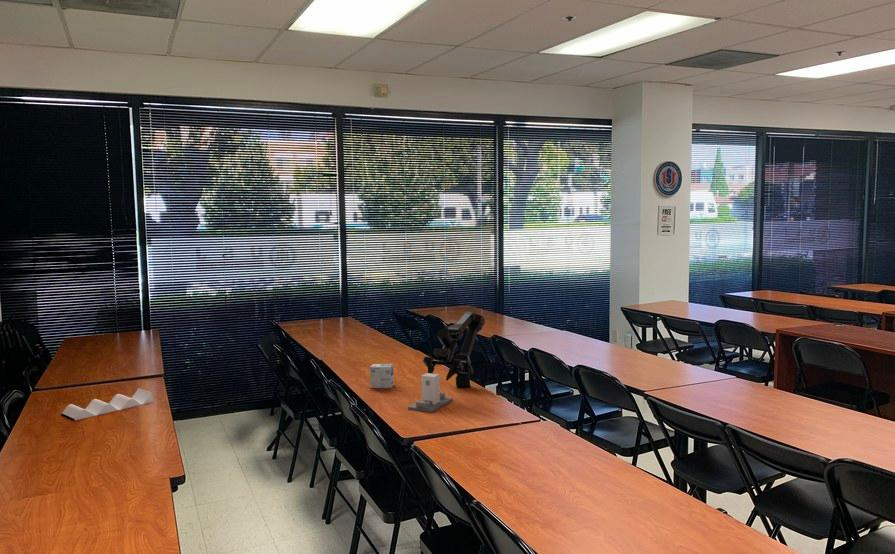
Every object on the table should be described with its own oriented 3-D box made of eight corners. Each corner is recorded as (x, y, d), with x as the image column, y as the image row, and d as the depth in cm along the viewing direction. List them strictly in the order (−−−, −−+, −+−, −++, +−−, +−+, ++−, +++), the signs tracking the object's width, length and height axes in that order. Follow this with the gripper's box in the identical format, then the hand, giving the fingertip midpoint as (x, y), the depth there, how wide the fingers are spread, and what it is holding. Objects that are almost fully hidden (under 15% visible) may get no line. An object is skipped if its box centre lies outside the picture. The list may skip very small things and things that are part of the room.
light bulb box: (394, 384, 334) (393, 363, 333) (391, 388, 327) (391, 366, 326) (373, 384, 335) (372, 363, 334) (370, 388, 328) (369, 366, 327)
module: (427, 400, 303) (426, 373, 302) (439, 401, 300) (439, 374, 299) (421, 403, 298) (420, 375, 297) (434, 405, 295) (433, 377, 294)
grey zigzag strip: (59, 416, 291) (58, 405, 291) (139, 398, 318) (138, 387, 317) (72, 422, 283) (71, 410, 282) (152, 403, 309) (152, 392, 309)
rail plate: (429, 397, 311) (429, 390, 310) (452, 400, 305) (452, 393, 305) (407, 409, 293) (407, 401, 293) (432, 412, 288) (432, 404, 287)
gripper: (424, 339, 311) (413, 367, 303) (460, 342, 303) (450, 372, 294) (432, 352, 319) (421, 380, 311) (468, 355, 311) (458, 384, 302)
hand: (437, 379), depth 304 cm, fingers open, 9 cm apart
